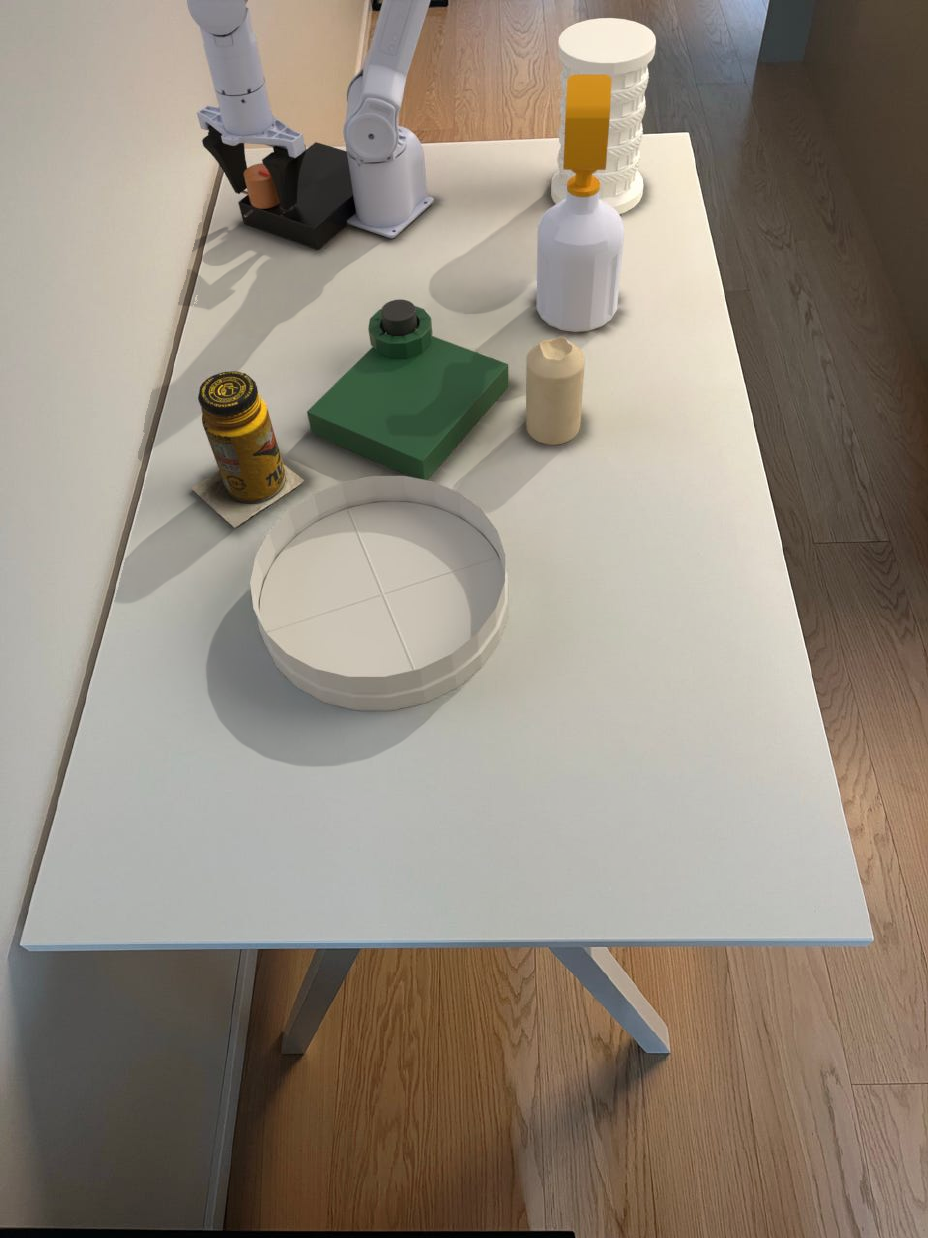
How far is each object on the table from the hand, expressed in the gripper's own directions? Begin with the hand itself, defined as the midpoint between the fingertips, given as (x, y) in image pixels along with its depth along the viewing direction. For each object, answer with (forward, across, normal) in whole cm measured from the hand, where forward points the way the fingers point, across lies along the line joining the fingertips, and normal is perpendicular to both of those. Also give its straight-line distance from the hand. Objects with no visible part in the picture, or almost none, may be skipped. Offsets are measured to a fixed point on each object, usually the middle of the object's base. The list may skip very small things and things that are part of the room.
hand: (265, 197), depth 118 cm
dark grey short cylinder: (-1, +30, -14) cm, 33 cm away
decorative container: (+3, +33, +25) cm, 42 cm away
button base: (+3, +35, -20) cm, 40 cm away
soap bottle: (+3, +42, +3) cm, 42 cm away
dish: (+3, +47, -42) cm, 63 cm away
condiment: (+3, +27, -37) cm, 46 cm away
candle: (+3, +49, -15) cm, 51 cm away
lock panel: (+3, +2, +5) cm, 6 cm away
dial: (0, 0, 0) cm, 0 cm away
